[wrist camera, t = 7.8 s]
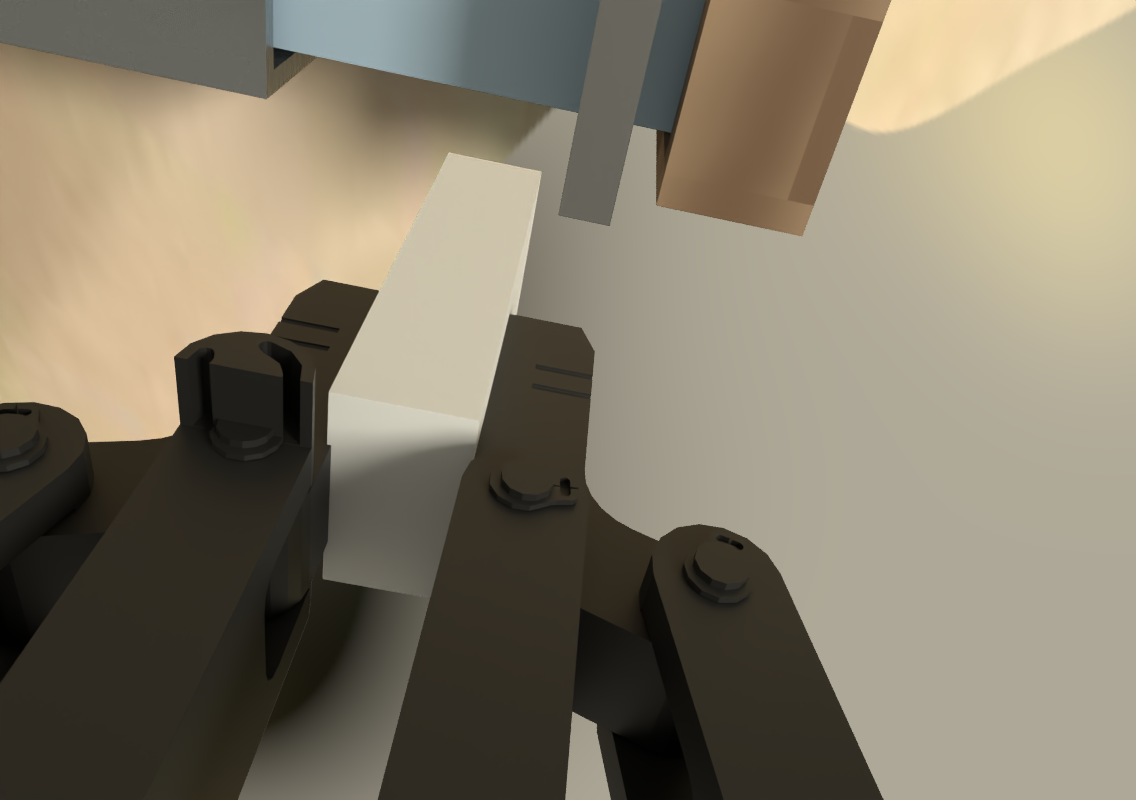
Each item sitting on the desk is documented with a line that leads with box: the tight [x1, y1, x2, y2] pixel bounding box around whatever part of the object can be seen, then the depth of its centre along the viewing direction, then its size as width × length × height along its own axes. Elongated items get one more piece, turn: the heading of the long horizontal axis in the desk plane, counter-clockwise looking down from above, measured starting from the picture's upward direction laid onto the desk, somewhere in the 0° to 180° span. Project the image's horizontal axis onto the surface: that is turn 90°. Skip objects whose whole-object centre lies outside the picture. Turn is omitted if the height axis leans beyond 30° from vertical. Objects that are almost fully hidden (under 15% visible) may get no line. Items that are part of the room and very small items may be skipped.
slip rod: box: [273, 0, 705, 226], centre depth 25 cm, size 18×6×10 cm, turn 79°
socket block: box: [656, 0, 891, 236], centre depth 27 cm, size 4×7×7 cm, turn 169°
